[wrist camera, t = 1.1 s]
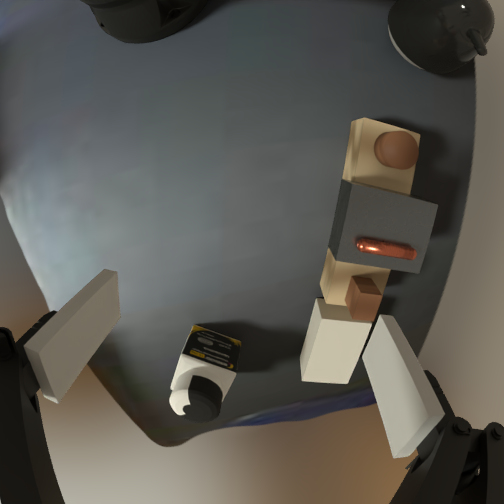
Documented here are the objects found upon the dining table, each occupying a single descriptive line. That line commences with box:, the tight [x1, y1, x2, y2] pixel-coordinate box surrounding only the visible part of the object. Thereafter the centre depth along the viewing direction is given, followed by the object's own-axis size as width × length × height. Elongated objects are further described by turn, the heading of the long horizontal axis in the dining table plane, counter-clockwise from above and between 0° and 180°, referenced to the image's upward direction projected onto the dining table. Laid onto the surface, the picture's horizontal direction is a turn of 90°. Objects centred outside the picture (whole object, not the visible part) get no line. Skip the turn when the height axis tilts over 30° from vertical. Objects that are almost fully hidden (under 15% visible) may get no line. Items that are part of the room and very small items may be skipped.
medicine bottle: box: [170, 325, 241, 423], centre depth 36 cm, size 7×7×12 cm
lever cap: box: [328, 179, 438, 274], centre depth 26 cm, size 7×9×5 cm
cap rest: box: [300, 298, 372, 384], centre depth 37 cm, size 10×6×5 cm, turn 172°
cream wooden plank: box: [320, 118, 420, 321], centre depth 29 cm, size 20×6×9 cm, turn 172°
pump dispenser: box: [388, 0, 494, 74], centre depth 18 cm, size 10×10×15 cm
